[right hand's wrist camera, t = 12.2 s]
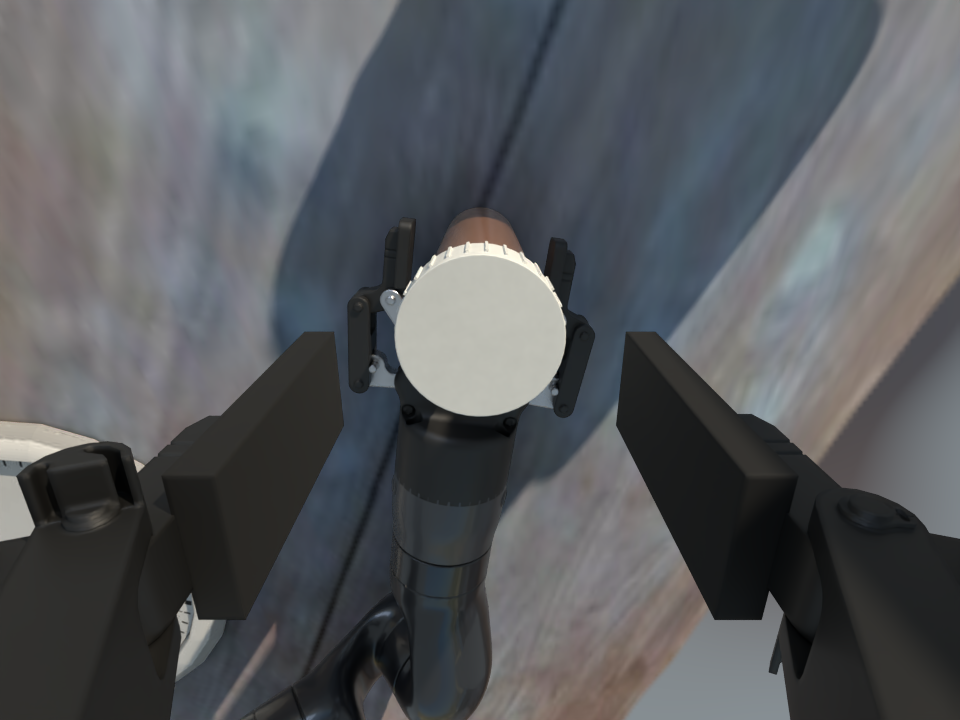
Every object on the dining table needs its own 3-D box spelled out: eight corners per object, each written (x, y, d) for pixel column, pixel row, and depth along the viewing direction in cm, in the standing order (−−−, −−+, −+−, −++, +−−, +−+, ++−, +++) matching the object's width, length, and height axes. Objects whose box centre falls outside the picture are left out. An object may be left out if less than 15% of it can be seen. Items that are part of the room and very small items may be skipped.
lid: (583, 350, 20) (596, 374, 17) (449, 414, 20) (445, 444, 18) (515, 210, 18) (520, 217, 16) (372, 287, 19) (358, 304, 17)
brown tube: (527, 259, 36) (576, 364, 18) (465, 291, 37) (451, 423, 19) (495, 193, 34) (513, 235, 16) (431, 228, 35) (379, 306, 17)
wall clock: (281, 671, 48) (0, 739, 51) (288, 655, 49) (14, 722, 52) (97, 382, 37) (-242, 491, 41) (112, 373, 39) (-215, 479, 42)
